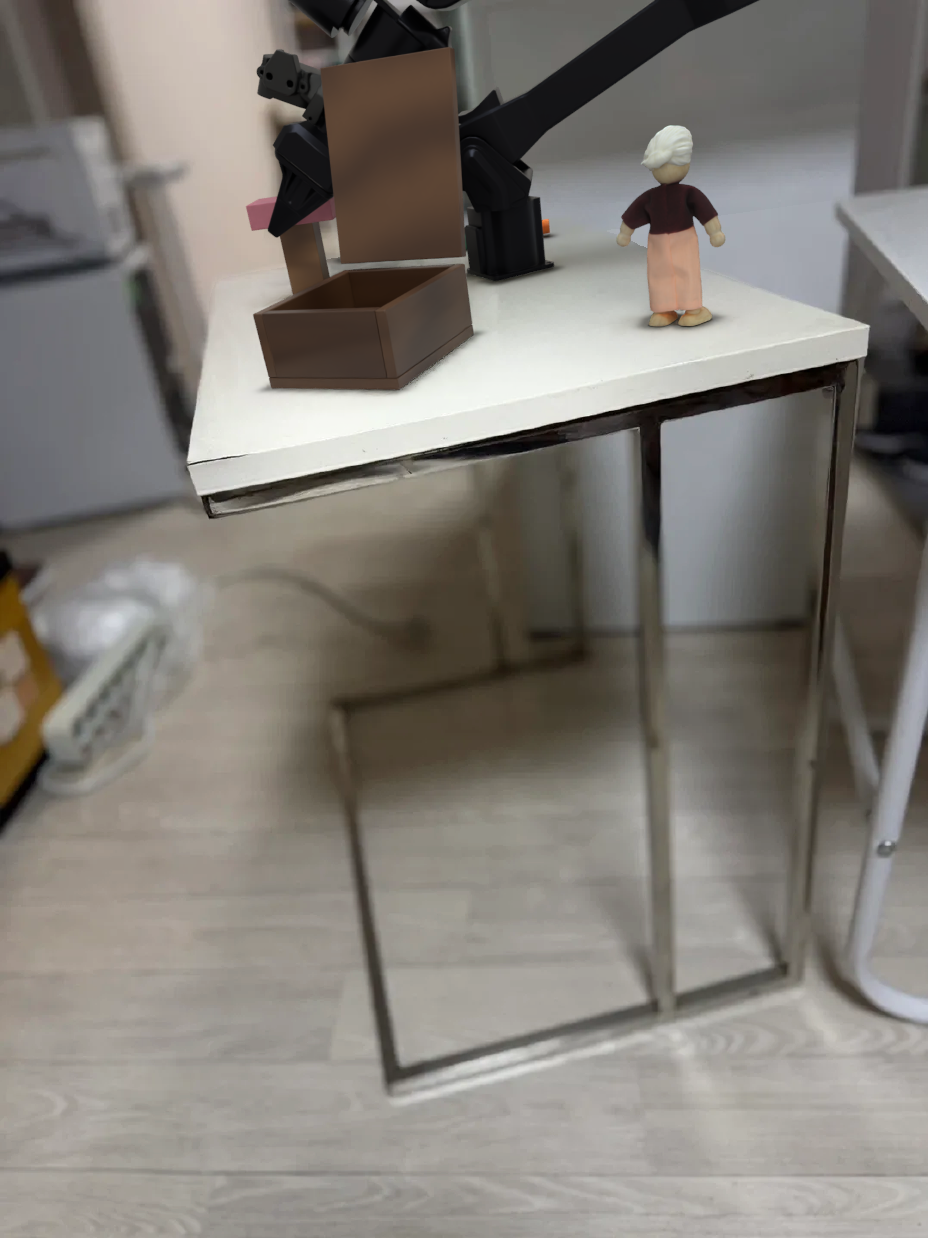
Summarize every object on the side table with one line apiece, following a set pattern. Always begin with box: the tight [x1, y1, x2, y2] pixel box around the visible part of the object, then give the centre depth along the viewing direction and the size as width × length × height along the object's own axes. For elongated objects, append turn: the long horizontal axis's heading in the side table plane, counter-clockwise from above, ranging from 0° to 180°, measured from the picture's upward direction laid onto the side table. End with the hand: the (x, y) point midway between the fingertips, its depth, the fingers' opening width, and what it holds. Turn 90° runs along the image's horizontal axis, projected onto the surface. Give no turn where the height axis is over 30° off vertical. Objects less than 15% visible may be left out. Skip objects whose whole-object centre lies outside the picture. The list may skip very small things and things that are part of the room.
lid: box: [319, 47, 467, 265], centre depth 68 cm, size 13×11×1 cm
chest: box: [252, 263, 475, 391], centre depth 67 cm, size 13×11×5 cm
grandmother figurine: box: [615, 125, 726, 327], centre depth 64 cm, size 8×4×13 cm, turn 71°
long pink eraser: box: [245, 195, 336, 232], centre depth 87 cm, size 8×4×2 cm, turn 85°
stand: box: [279, 222, 331, 295], centre depth 90 cm, size 3×3×7 cm
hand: (284, 225), depth 88 cm, fingers open, 9 cm apart
